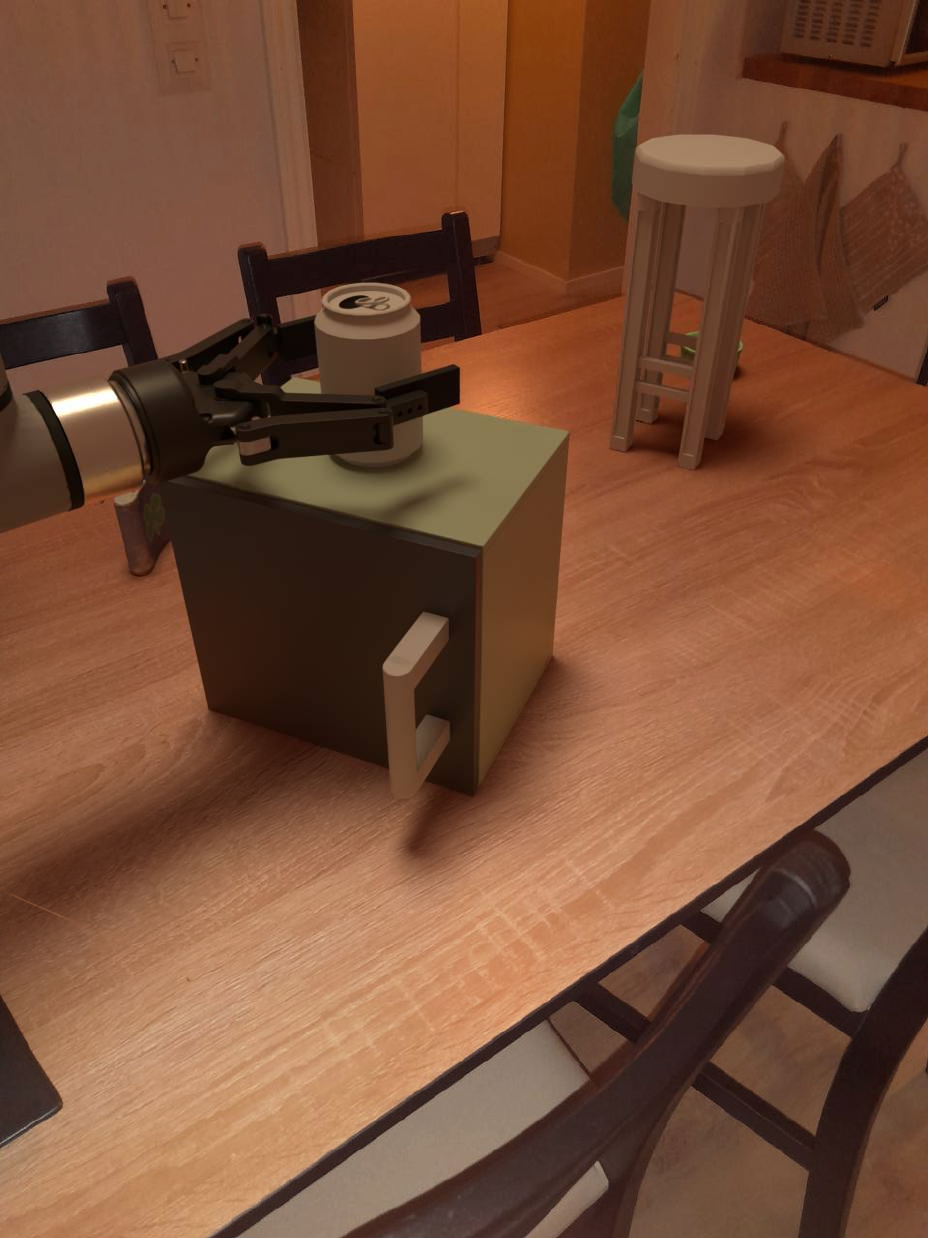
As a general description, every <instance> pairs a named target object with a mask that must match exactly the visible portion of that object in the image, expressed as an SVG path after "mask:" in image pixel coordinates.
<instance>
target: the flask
mask: <svg viewBox="0 0 928 1238" xmlns="http://www.w3.org/2000/svg"><path fill="white" fill-rule="evenodd" d="M112 503H113V507H114V511H115V515H116V518H117V522H118V526H119V530H120V535H121V538H122V542H123V545H124V551H125V557H126V560H127V564H128V568H129V571H130V573H131V574H132V575H133V576H139V577H140V576H146V575H148V574H149V573H150V572H152V571H153V569H155V566H156V563H157V561H158V560H159V557H160V556H161V554H162V552H163V550H164V549H165V547H166V546H167V545H168V543H169V542H171V538H170V533H169V529H168V524H167V519H166V515H165V510H164V506H163V501H162V497H161V492H160V488H159V484H157V485H154V484H152V483H148V482H146V481H145V480H144V481H143V485H142V486H141V488H140V489H139V490H136V491H132V492H129V493H126V494H123V495H119V496H116V497H113V502H112Z"/></svg>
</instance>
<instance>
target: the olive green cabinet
mask: <svg viewBox="0 0 928 1238" xmlns="http://www.w3.org/2000/svg"><path fill="white" fill-rule="evenodd" d="M280 387H281V388H282V390H283V391H284V392H286V393H313V394H321V387H320V381H316V380H312V379H307V378H306V379H305V378H301V377H296V376H294V377H292V378H291V379H290V380H288V381H287V382H285V383H284V384H282V385H281V386H280ZM269 413H270V411H269ZM269 417H270V416H269ZM570 434H571V432H570V431H569V430H565V429H559V428H555V427H549V426H544V425H540V424H535V423H530V422H525V421H519V420H514V419H509V418H504V417H499V416H494V415H488V414H483V413H479V412H473V411H469V410H463V409H459V408H453V407H449V408H446V409H443V410H440V411H436V412H433V413H430V414H427V415H425V416H423V443H422V444H421V446H420V447H419V448H418V449H417V450H416V451H415V452H413V453H412V454H411V455H410V457H409V458H407V459H406V460H404V461H402V462H400V463H397V464H394V465H392V466H386V467H380V468H367V467H360V466H355V465H352V464H349V463H347V462H345V461H344V460H342V459H341V458H340V457H339V456H337V455H336V454H334V455H322V456H309V457H297V458H285V459H277V460H273V461H269V462H265V463H261V464H257V465H253V466H245V465H242V464H241V461H240V455H239V449H238V447H237V446H236V445H235V444H234V445H222V446H215V447H212V448H211V449H210V451H209V452H208V454H207V456H206V460H205V463H204V465H203V467H202V468H201V469H200V470H199V471H198V472H195V473H192V474H189V475H186V476H183V477H185V478H189V479H193V480H197V481H202V482H206V483H210V484H214V485H218V486H222V487H226V488H230V489H234V490H238V491H242V492H247V493H251V494H255V495H259V496H263V497H267V498H271V499H275V500H279V501H283V502H287V503H292V504H296V505H300V506H304V507H308V508H312V509H316V510H320V511H324V512H328V513H332V514H337V515H341V516H345V517H349V518H353V519H357V520H361V521H365V522H369V523H373V524H377V525H382V526H386V527H390V528H394V529H398V530H402V531H406V532H410V533H414V534H418V535H422V536H427V537H431V538H435V539H439V540H443V541H447V542H451V543H455V544H459V545H463V546H468V547H472V548H476V549H480V550H482V575H481V635H480V695H479V755H478V787H480V786H481V784H482V783H483V780H484V779H485V778H486V775H487V774H488V772H489V771H490V768H491V766H492V765H493V763H494V761H495V760H496V758H497V756H498V754H499V753H500V750H501V749H502V747H503V745H504V743H505V742H506V740H507V739H508V736H509V735H510V733H511V731H512V729H513V728H514V726H515V724H516V722H517V720H518V718H519V717H520V715H521V713H522V711H523V710H524V708H525V706H526V704H527V703H528V701H529V699H530V697H531V695H532V694H533V691H534V690H535V688H536V686H537V685H538V683H539V681H540V679H541V677H542V676H543V674H544V672H545V671H546V669H547V667H548V665H549V663H550V661H551V660H552V659H553V656H554V655H553V654H554V640H555V630H556V617H557V616H556V614H557V602H558V591H559V590H558V589H559V577H560V563H561V551H562V539H563V525H564V512H565V500H566V498H565V497H566V488H567V487H566V485H567V475H568V474H567V472H568V461H569V460H568V459H569V447H570V436H571V435H570Z"/></svg>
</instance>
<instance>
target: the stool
mask: <svg viewBox="0 0 928 1238" xmlns="http://www.w3.org/2000/svg"><path fill="white" fill-rule="evenodd" d="M785 164H786V157H785V155H784V154H783V153H782V152H781V151H780V150H779V149H777V147H776V146H774V145H772V144H769V143H766V142H762V141H758V140H754V139H751V138H748V137H747V138H745V137H739V136H731V135H729V136H728V135H723V134H722V135H720V134H687V133H685V134H683V133H682V134H680V133H679V134H673V135H666V136H658V137H652V138H650V139H648V140H646V141H645V142H643V143H640V144H639V145H638V146H637V147H636V148H635V150H634V157H633V166H632V167H633V168H632V176H631V184H632V185H633V188H634V190H635V192H636V199H635V207H634V217H633V227H632V236H631V245H630V253H629V264H628V272H627V282H626V291H625V300H624V309H623V318H622V326H621V327H622V328H621V337H620V346H619V357H618V365H617V373H616V382H615V383H616V384H615V391H614V392H615V393H614V401H613V411H612V421H611V429H610V439H609V449H611V450H615V451H618V450H619V452H622V453H627V451H628V450H629V449H630V448H631V447H632V446H631V445H633V440H634V432H635V424H636V420H639V421H638V422H640V421H644V422H647V423H646V424H648V423H650V424H649V425H652V424H653V423H654V422H655V421H656V420H657V419H658V414H659V408H660V402H661V401H660V399H661V398H664V399H668V400H672V401H676V402H680V403H684V404H686V409H685V415H684V421H683V426H682V433H681V440H680V447H679V453H678V459H677V467H680V468H684V469H688V470H692V471H695V470H696V469H697V467H698V466H699V465H700V463H701V461H702V460H701V459H702V454H703V449H704V442H705V439H706V438H707V439H709V440H714V441H718V440H719V439H720V437H721V436H722V435H723V434H724V430H725V429H724V428H725V424H726V418H727V414H728V407H729V403H730V397H731V392H732V386H733V381H734V376H735V373H734V370H735V365H736V360H737V354H738V349H739V344H740V341H741V338H742V334H743V333H742V332H743V328H744V322H745V318H746V317H745V316H746V312H747V306H748V299H749V295H750V290H751V284H752V278H753V273H754V269H755V262H756V258H757V253H758V252H757V251H758V246H759V243H760V242H759V241H760V237H761V232H762V231H761V230H762V227H763V226H762V225H763V220H764V215H765V211H766V204H767V203H770V202H771V200H773V199H774V198H775V197H777V195H779V194H780V191H781V185H782V180H783V174H784V169H785ZM687 206H688V207H693V208H717V213H716V219H715V225H714V231H713V236H712V237H713V238H712V244H711V250H710V256H709V262H708V269H707V275H706V277H707V278H706V282H705V287H704V294H703V300H702V307H701V313H700V319H699V326H698V331H699V332H698V337H694V336H689V335H685V334H683V333H679V332H675V331H670V328H671V322H672V315H673V314H672V313H673V306H674V299H675V294H676V293H675V292H676V285H677V278H678V270H679V265H680V264H679V263H680V256H681V250H682V242H683V236H684V228H685V221H686V213H687ZM668 345H674V346H679V347H680V346H684V347H688V348H693V349H696V351H695V357H694V360H689V359H685V358H680V356H675V355H670V354H667V349H668ZM735 371H736V370H735ZM664 374H666V375H671V376H675V377H679V378H680V377H681V378H683V379H684V378H685V379H689V380H690V383H689V389H688V390H687V389H683V388H679V387H674V386H670V385H667V384H666V385H665V384H663V378H664ZM653 421H654V422H653ZM644 422H643V423H644ZM652 422H653V423H652ZM651 423H652V424H651ZM630 446H631V447H630ZM629 447H630V448H629Z"/></svg>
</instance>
